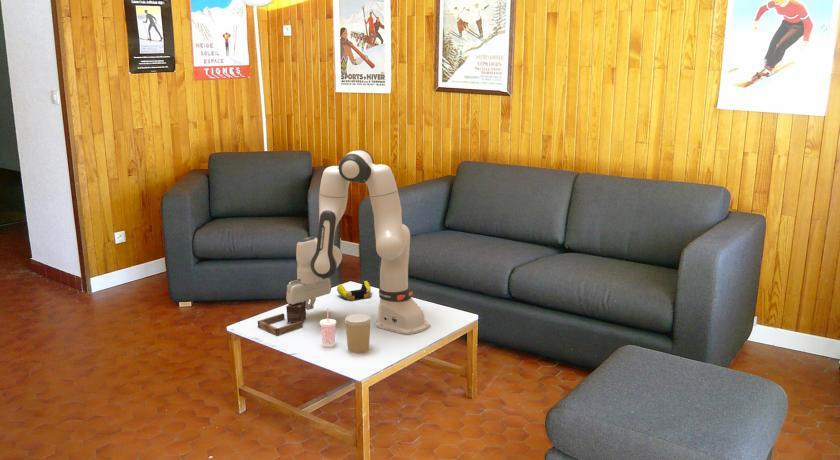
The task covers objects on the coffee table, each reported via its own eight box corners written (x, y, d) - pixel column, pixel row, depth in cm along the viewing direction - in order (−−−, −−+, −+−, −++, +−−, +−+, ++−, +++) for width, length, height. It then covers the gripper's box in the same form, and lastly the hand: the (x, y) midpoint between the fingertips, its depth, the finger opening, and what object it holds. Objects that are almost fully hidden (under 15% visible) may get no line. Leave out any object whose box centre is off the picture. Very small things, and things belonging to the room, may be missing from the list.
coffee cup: (376, 348, 268) (376, 317, 265) (358, 356, 262) (357, 324, 259) (358, 341, 274) (358, 311, 272) (340, 349, 268) (339, 318, 265)
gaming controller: (336, 295, 325) (343, 302, 316) (335, 283, 324) (343, 290, 315) (367, 291, 331) (375, 297, 322) (367, 279, 330) (375, 286, 321)
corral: (302, 327, 288) (302, 321, 288) (277, 335, 280) (277, 329, 279) (283, 319, 297) (282, 313, 296) (258, 327, 289) (257, 321, 288)
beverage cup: (317, 344, 272) (315, 308, 269) (330, 339, 276) (329, 304, 273) (326, 348, 268) (325, 313, 264) (340, 344, 272) (339, 309, 268)
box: (306, 319, 297) (305, 302, 295) (301, 324, 291) (300, 307, 289) (292, 317, 298) (291, 300, 296) (286, 323, 292) (286, 306, 291)
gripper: (291, 284, 285) (293, 317, 289) (332, 272, 299) (333, 304, 303) (282, 280, 290) (283, 313, 293) (323, 269, 304) (324, 301, 307)
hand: (309, 308), depth 298 cm, fingers closed
